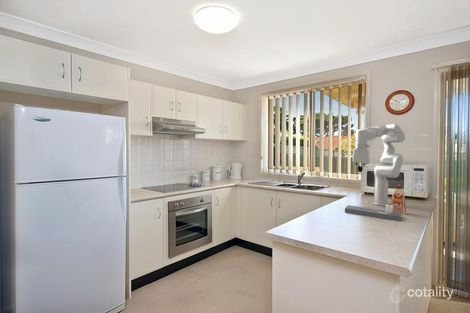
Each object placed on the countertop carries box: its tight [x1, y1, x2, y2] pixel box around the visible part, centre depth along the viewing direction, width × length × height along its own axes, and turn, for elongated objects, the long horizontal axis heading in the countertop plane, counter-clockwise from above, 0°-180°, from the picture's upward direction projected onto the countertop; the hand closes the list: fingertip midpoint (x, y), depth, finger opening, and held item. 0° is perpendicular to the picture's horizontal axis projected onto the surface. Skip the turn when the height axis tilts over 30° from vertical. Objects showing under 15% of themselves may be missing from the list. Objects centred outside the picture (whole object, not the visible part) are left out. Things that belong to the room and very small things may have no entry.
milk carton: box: [390, 184, 407, 216], centre depth 176 cm, size 9×9×20 cm
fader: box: [384, 204, 393, 213], centre depth 163 cm, size 5×4×4 cm
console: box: [344, 204, 402, 222], centre depth 168 cm, size 12×32×3 cm, turn 56°
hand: (360, 172), depth 183 cm, fingers closed
